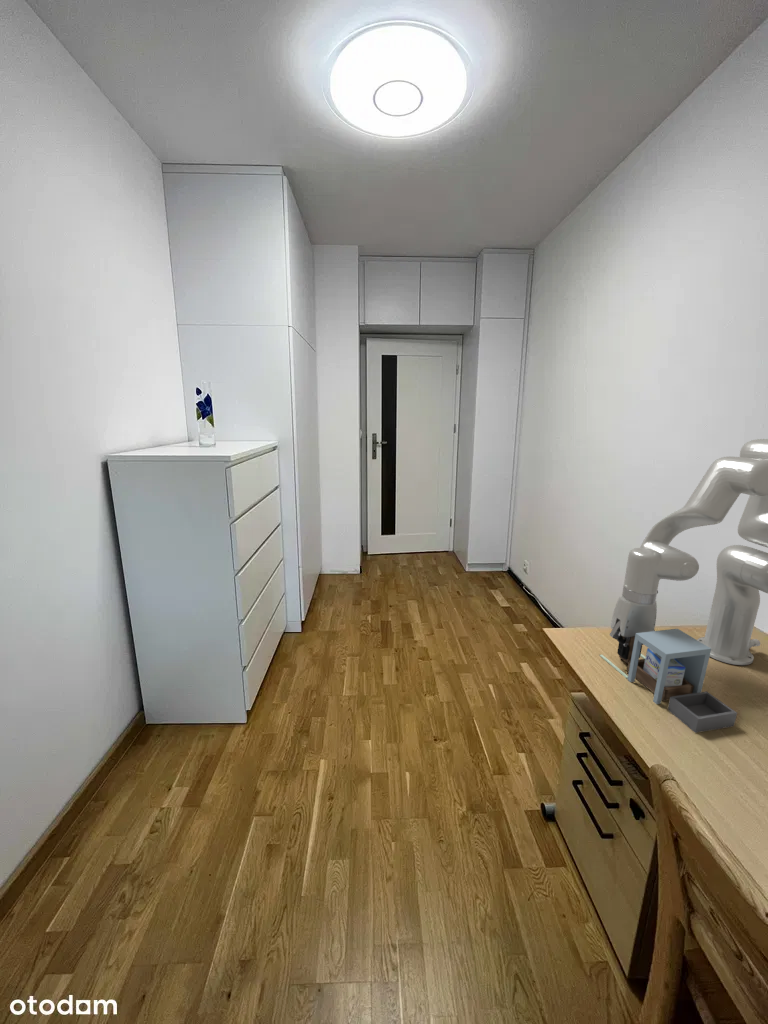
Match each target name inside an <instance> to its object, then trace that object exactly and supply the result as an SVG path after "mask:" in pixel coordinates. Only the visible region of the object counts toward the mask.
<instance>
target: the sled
mask: <svg viewBox="0 0 768 1024" xmlns="http://www.w3.org/2000/svg"><path fill="white" fill-rule="evenodd" d="M623 639H625V637H623ZM634 640H635V636H631V637H630V641H629V645H628V646H629V647H630V650H629V655H628V659H627V660H625V659H624V658H622V657H621V656H620V655H618V657H619V659H621V660H622V661H624V662H625V663H626V664H627V670H626V671H627V672H628V673H629V668H630V663H631V657H632V651H633V646H634ZM644 662H645V659H644V658H641V659H640V658H639V660H638V665H637V671H636V676H635V680H637V681H639V682H640V683H641V684H642V685H644V686H645V687H646V688H648V689H649V691H651V692H652V693H653V694H654V693H655V688H656V683H657V680H655V679H654V678H653V677H651V676H650V675H649V674H648V673H646V672H645V671H644V670H643V667H644ZM693 688H694V685H692V684H691V683H689V682H688V681H687V680H685V679H684V678H683V681H682V685H680V686H673V687H664V690H663V695H662V700H661V701H663V702H664V701H669V700H670V697H672V696H679V695H685V694H692V692H693Z"/></svg>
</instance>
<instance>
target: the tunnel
mask: <svg viewBox="0 0 768 1024" xmlns="http://www.w3.org/2000/svg"><path fill="white" fill-rule="evenodd" d="M641 643H642V644H644V646H645V647H647V648H649V649H651V650H652V651H654V652H655V653H657V654H658V655H659V656H661V657H662V658H661V663H660V668H659V673H658V678H657V683H656V688H655V693H653V698H652V702H653V703H654V704H656V705H661V704H662V701H663V700H662V695H663V690H664V685H665V680H666V675H667V670H668V665H669V660H670V659H674V658H676V659H677V660H678V661H679V662H680V663H681V664H683V665H684V666H685V672H684V677H683V678H684V679H685V680H687V681H688V682H689V683H691V684H692V685H694V688H693V692H692V693H699V692H703V686H704V681H705V677H706V673H707V669H708V664H709V660H710V652H711V648H709V647H708V646H706V645H704V644H703V643H701V642H699V641H698V639H695V638H694V637H692V636H691V635H689V634H688V633H686V632H684V631H682V630H681V629H679V628H670V629H662V630H655V631H651V632H642V633H636V634H635V640H634V646H633V651H632V657H631V663H630V668H629V672H628V674H627V676H628V678H627V681H628V682H630V683H634V682H635V681H636V678H635V676H636V671H637V665H638V660H640V658H639V654H640V649H641Z"/></svg>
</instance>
